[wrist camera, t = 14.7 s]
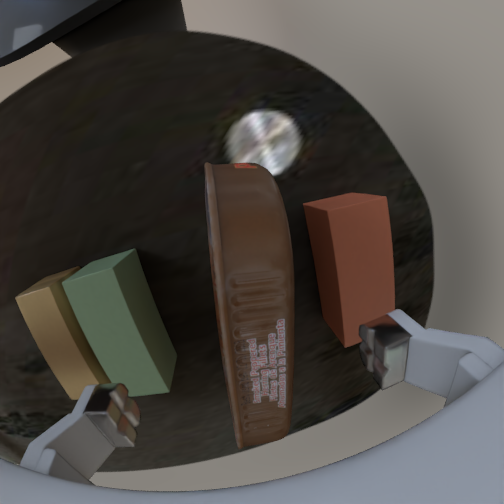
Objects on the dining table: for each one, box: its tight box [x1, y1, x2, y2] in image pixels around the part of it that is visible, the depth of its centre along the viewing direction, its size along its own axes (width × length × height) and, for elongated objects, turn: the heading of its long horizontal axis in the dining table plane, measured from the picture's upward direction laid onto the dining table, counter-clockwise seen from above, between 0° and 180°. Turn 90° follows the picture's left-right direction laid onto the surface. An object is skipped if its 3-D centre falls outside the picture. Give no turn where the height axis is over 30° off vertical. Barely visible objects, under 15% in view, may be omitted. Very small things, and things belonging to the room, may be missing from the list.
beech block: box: [15, 266, 112, 400], centre depth 15 cm, size 8×4×4 cm, turn 14°
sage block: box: [62, 249, 177, 397], centre depth 15 cm, size 8×4×4 cm, turn 14°
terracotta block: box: [303, 193, 395, 348], centre depth 15 cm, size 8×4×4 cm, turn 14°
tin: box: [205, 163, 295, 449], centre depth 13 cm, size 15×3×8 cm, turn 3°
